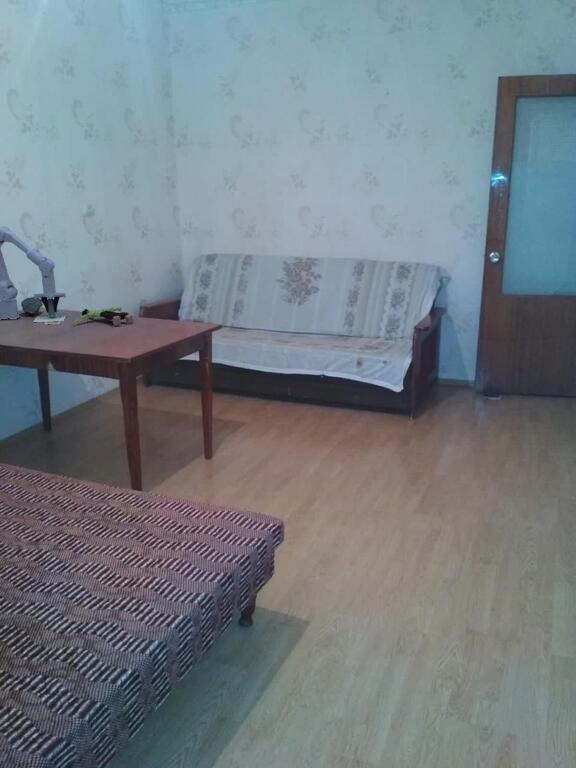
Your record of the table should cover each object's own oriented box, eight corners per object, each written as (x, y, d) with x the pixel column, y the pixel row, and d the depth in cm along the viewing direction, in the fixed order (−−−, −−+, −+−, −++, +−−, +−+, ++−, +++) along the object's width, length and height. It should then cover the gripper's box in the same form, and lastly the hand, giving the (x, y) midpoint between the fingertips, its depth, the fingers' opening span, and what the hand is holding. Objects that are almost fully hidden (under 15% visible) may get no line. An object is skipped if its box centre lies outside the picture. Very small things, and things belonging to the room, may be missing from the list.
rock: (43, 310, 329) (23, 307, 327) (44, 297, 325) (23, 294, 322) (38, 326, 317) (17, 323, 314) (38, 312, 313) (17, 309, 310)
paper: (33, 322, 300) (33, 322, 299) (36, 317, 312) (36, 316, 311) (63, 321, 303) (63, 320, 303) (65, 316, 315) (65, 315, 315)
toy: (150, 316, 307) (109, 312, 323) (148, 303, 305) (107, 300, 321) (101, 336, 283) (59, 331, 300) (97, 322, 281) (56, 318, 297)
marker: (48, 318, 307) (46, 298, 305) (49, 317, 310) (47, 298, 308) (55, 318, 308) (53, 298, 305) (56, 317, 311) (54, 297, 308)
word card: (43, 324, 295) (43, 324, 295) (45, 322, 299) (44, 321, 299) (59, 324, 297) (59, 323, 296) (60, 322, 301) (60, 321, 301)
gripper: (32, 286, 299) (35, 314, 303) (63, 285, 302) (66, 313, 306) (33, 284, 305) (37, 311, 309) (64, 283, 309) (67, 310, 313)
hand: (51, 312), depth 308 cm, fingers closed on marker, 3 cm apart
